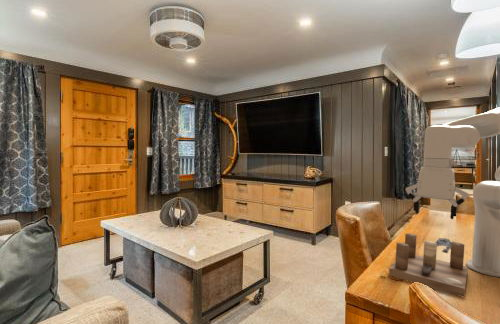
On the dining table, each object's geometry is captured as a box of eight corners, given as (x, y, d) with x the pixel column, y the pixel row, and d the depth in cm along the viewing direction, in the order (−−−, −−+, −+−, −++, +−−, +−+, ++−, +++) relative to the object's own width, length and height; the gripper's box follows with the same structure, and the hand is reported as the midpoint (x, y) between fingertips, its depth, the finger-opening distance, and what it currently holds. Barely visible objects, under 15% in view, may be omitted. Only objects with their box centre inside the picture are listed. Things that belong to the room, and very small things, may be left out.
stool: (402, 258, 109) (403, 231, 109) (467, 273, 97) (469, 243, 96) (388, 275, 94) (390, 244, 93) (464, 297, 81) (466, 261, 81)
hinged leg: (432, 276, 88) (433, 250, 87) (418, 272, 90) (420, 247, 89) (436, 265, 95) (437, 242, 95) (423, 262, 98) (425, 240, 97)
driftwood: (439, 239, 135) (439, 234, 135) (456, 242, 131) (457, 238, 130) (428, 250, 121) (428, 245, 121) (447, 254, 116) (447, 249, 116)
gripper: (470, 164, 90) (467, 218, 91) (408, 162, 100) (406, 209, 101) (470, 166, 84) (466, 222, 85) (404, 163, 94) (402, 213, 95)
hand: (434, 215), depth 93 cm, fingers open, 9 cm apart
